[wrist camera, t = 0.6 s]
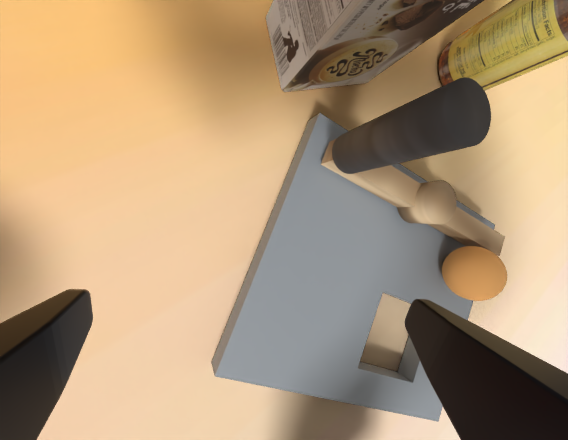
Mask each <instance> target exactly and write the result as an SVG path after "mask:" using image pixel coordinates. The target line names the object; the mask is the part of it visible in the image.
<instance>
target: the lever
mask: <svg viewBox="0 0 568 440" xmlns="http://www.w3.org/2000/svg"><path fill="white" fill-rule="evenodd" d="M490 121H491V111H490V104H489V101H488V98H487V95H486V93H485V91H484V90H483V88H482V87H481V86H480V85H479V84H478V83H477V82H476V81H475V80H473V79H471V78H467V77H463V78H459V79H457V80H455V81H453V82H451V83H448V84H446V85H444V86H442V87H440V88H438V89H436V90H434V91H432V92H430V93H428V94H426V95H423V96H421V97H419V98H417V99H415V100H413V101H411V102H409V103H407V104H405V105H403V106H401V107H398V108H396V109H394V110H392V111H390V112H388V113H386V114H384V115H382V116H380V117H378V118H376V119H373V120H371V121H369V122H367V123H365V124H363V125H361V126H359V127H357V128H355V129H353V130H351V131H348V132H346V133H344V134H342V135H340V136H339V137H338V138H337V139H335V140H332V141H330V142H329V144H328V147H327V149H326V152H325V154H324V157H323V159H322V162H321V165H323V166H324V167H326V168H328V169H330V170H332V171H333V172H335V173H337V174H339V175H341V176H342V177H344V178H346V179H348V180H349V181H351V182H353V183H355V184H357V185H358V186H360V187H362V188H364V189H365V190H367V191H369V192H371V193H373V194H374V195H376V196H378V197H380V198H382V199H383V200H385V201H387V202H389V203H390V204H392V205H394V206H396V207H397V209H398V213H399V215H400V216H401V218H402V219H403V220H404V221H406V222H408V223H417V224H428V225H430V226H431V227H433V228H435V229H437V230H439V231H440V232H442V233H444V234H446V235H447V236H449V237H451V238H453V239H455V240H456V241H458V242H460V243H462V244H463V245H465V246H477V247H482V248H485V249H487V250H489V251H491V252H493V253H494V254H496V255H498V256H500V252H501V249H502V245H503V242H504V238H505V236H503V235H501V234H500V233H498V232H497V231H495V230H493V229H492V228H490V227H489V226H487V225H485V224H484V223H482V222H481V221H479V220H477V219H476V218H474V217H473V216H471V215H469V214H468V213H466V212H465V211H463V210H461V209H460V208H458V207H457V206H456V195H455V192H454V190H453V188H452V187H451V185H450V184H449V183H447V182H445V181H432V182H425V183H418V182H417V181H415V180H414V179H412V178H410V177H409V176H407V175H406V174H404V173H403V172H401V171H399V170H398V169H396V168H395V167H393V166H391V165H393V164H397V163H402V162H406V161H410V160H415V159H419V158H423V157H428V156H432V155H436V154H441V153H445V152H449V151H454V150H458V149H462V148H467V147H471V146H475V145H477V144H479V143H480V142H482V141H483V139H484V138H485V137H486V135H487V133H488V130H489V127H490Z"/></svg>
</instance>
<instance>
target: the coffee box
mask: <svg viewBox="0 0 568 440" xmlns="http://www.w3.org/2000/svg"><path fill="white" fill-rule="evenodd" d="M482 1H484V0H273V2H272V4H271V7H270V9H269V11H268V13H267V15H266V22H267V27H268V31H269V36H270V41H271V45H272V50H273V54H274V59H275V63H276V68H277V72H278V77H279V81H280V86H281V89H282V91H284V92H289V91H298V90H308V89H317V88H326V87H334V86H344V85H353V84H362V83H367V82H369V81H370V80H371V79H373V78H374V77H375V76H377V75H378V74H380V73H381V72H383V71H384V70H385V69H387V68H388V67H390V66H391V65H392V64H394V63H395V62H397V61H398V60H400V59H401V58H403V57H404V56H405V55H407V54H408V53H410V52H411V51H412V50H414V49H415V48H417V47H418V46H419V45H421V44H422V43H424V42H425V41H426V40H428V39H430V38H431V37H433V36H434V35H436V34H437V33H438V32H440V31H441V30H443V29H444V28H446V27H447V26H448V25H450V24H451V23H452V22H454V21H455V20H457V19H458V18H460V17H461V16H462V15H464V14H465V13H467V12H468V11H469V10H471V9H472V8H474V7H475V6H476V5H478V4H479V3H481V2H482Z"/></svg>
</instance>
